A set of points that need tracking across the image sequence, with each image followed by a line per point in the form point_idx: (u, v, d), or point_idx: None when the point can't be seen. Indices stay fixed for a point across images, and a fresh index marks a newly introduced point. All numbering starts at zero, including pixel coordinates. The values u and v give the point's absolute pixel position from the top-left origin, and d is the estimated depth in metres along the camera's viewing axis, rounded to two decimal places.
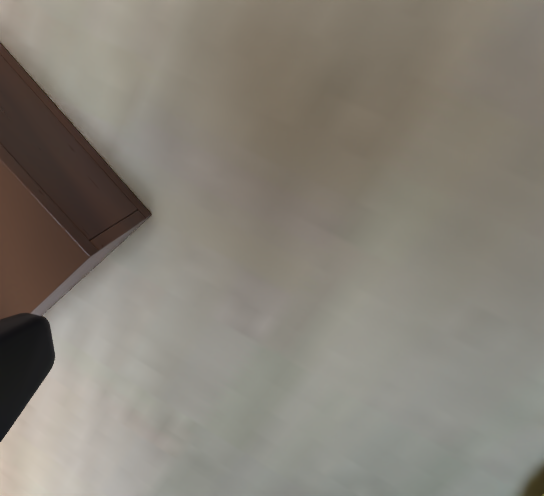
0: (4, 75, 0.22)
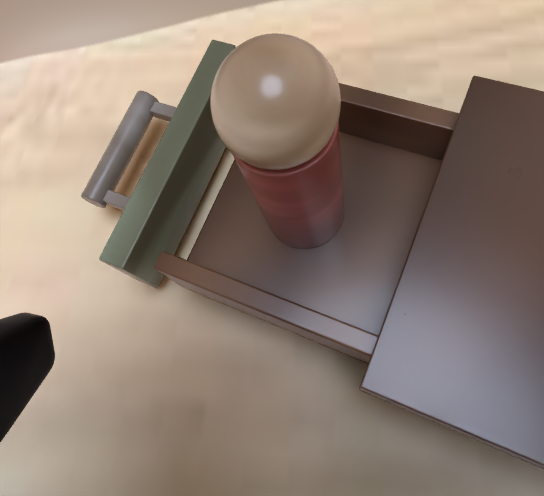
0: None
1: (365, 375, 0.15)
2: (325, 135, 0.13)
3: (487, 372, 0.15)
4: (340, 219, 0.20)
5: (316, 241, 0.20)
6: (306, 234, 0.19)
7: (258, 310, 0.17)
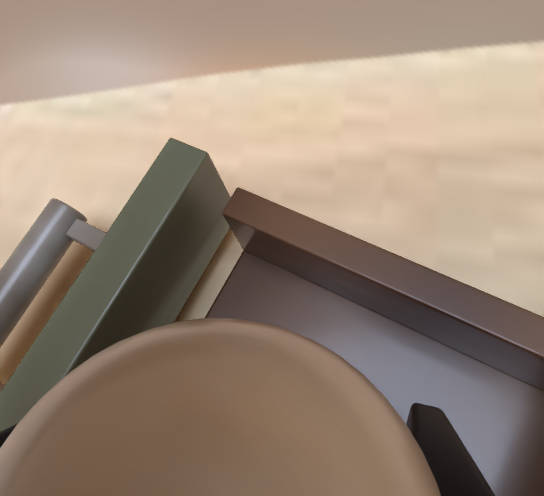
0: None
1: None
2: None
3: None
4: None
5: None
6: None
7: None
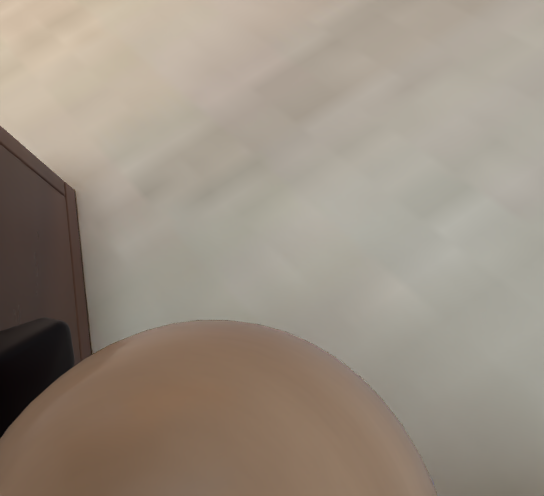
0: (56, 268, 0.13)
1: None
2: None
3: None
4: None
5: None
6: None
7: None
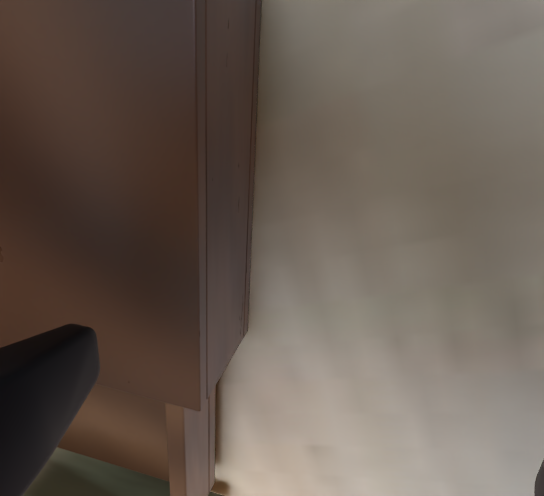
0: None
1: (189, 408, 0.17)
2: None
3: (144, 318, 0.15)
4: None
5: None
6: None
7: (185, 469, 0.19)
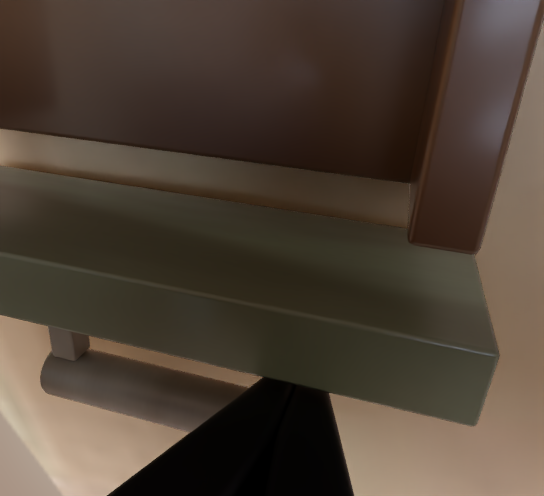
0: None
1: None
2: None
3: None
4: None
5: None
6: None
7: None
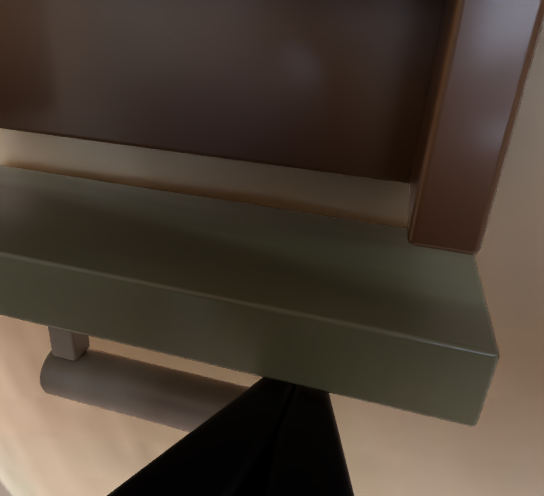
0: None
1: None
2: None
3: None
4: None
5: None
6: None
7: None
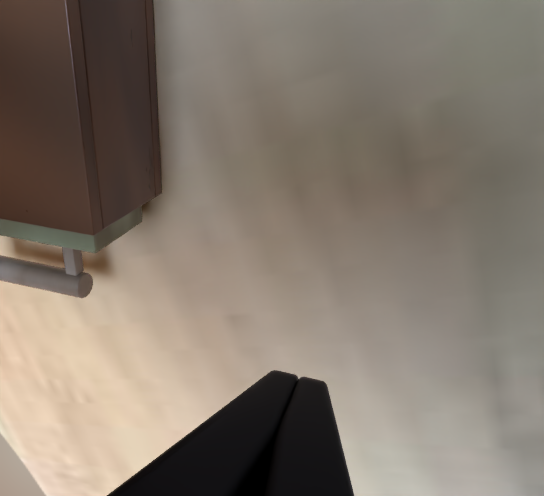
0: None
1: (83, 233, 0.17)
2: None
3: (33, 135, 0.16)
4: None
5: None
6: None
7: None
